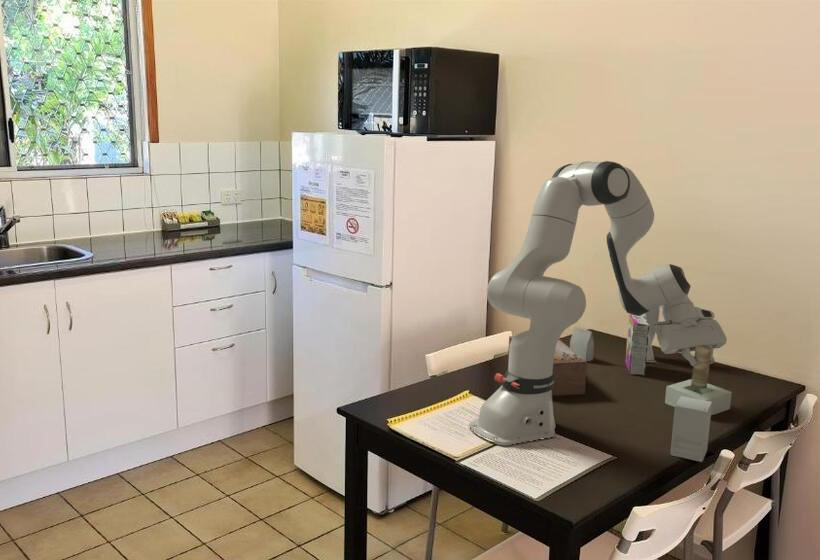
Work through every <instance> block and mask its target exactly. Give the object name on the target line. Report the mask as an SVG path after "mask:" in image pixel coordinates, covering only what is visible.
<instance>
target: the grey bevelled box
mask: <svg viewBox="0 0 820 560" xmlns="http://www.w3.org/2000/svg"><path fill="white" fill-rule="evenodd" d="M569 341H570V342H569V348H571V349H572V350H573V351H574V352H576V353H577V354H578V355H579V356H581V357H582V358H583V359H585V360H586V361H589V362H592V361H593V360H594V349H595V341H594V336H593V331H592V330H587V329H584V328H581V327H578V326H574V328H573V332H572V335H571V338H570V339H569ZM591 360H592V361H591Z"/></svg>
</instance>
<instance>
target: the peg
mask: <svg viewBox="0 0 820 560" xmlns="http://www.w3.org/2000/svg"><path fill="white" fill-rule="evenodd" d="M695 357H697V359H698V361H699V364H697V365H696V366H692V367H693V368H692V375H691V379H692V383H691V386H693V387H695V388H700V389H704V388H707V383H708V381H709V380H708V379H709V373H710V372H709V371H710V365H711V364H710V357H711V348H710V347H708V346H696V348H695V351H694V358H695Z"/></svg>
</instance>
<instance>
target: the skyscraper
mask: <svg viewBox="0 0 820 560" xmlns="http://www.w3.org/2000/svg"><path fill="white" fill-rule="evenodd" d="M645 274H646V273H644V274H643V275H645ZM660 311H661V308H660V306H659V307H656V308H654V309H652V310H650V311H648V312H647V313H645V314H643V315H644V316H645V318H646V320H647V322H648V324H649V334H648V346H647V357H646V362H650V363H657V360H655V355H654V351H653V345H652V344H653V341H654V339H655V336H656V332H655V330H654V325H655V324H656V323H657V322H660V321H659V320H660Z"/></svg>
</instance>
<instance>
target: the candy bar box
mask: <svg viewBox="0 0 820 560" xmlns="http://www.w3.org/2000/svg"><path fill="white" fill-rule="evenodd" d="M627 324H628V325H627V337H626V351H625V363H624V364H625V366H626V369H627V371H628V373H629V375H632V376H645V375H646V365H647V363H646V357H647V346H648V334H649V324H648V322H647V320H646V318H645V316H644V315H641V316H636V315H632V314H628V322H627Z"/></svg>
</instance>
